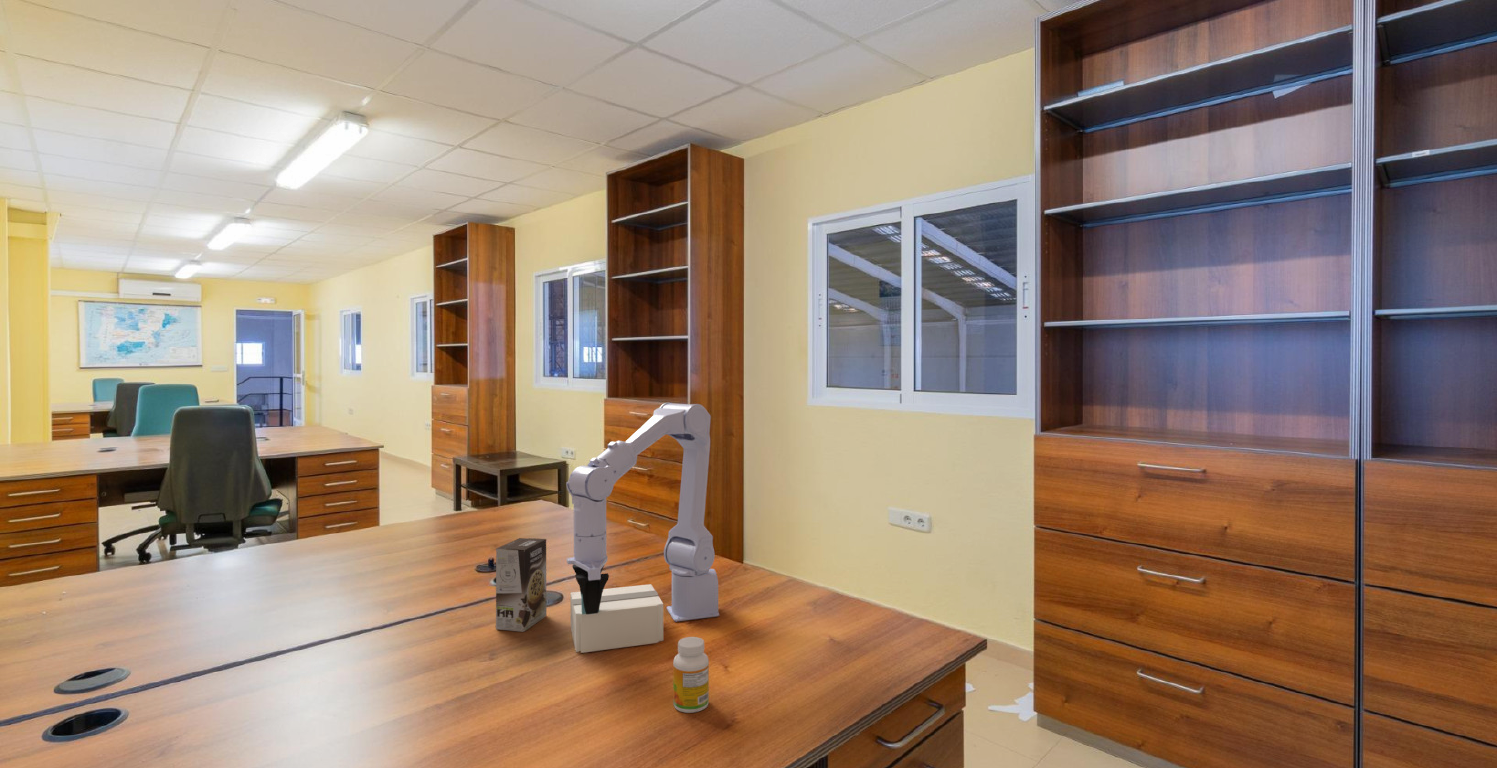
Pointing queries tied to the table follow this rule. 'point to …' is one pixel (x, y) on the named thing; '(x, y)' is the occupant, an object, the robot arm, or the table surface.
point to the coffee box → (520, 584)
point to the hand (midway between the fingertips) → (590, 608)
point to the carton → (617, 605)
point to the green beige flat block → (618, 627)
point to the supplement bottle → (690, 676)
